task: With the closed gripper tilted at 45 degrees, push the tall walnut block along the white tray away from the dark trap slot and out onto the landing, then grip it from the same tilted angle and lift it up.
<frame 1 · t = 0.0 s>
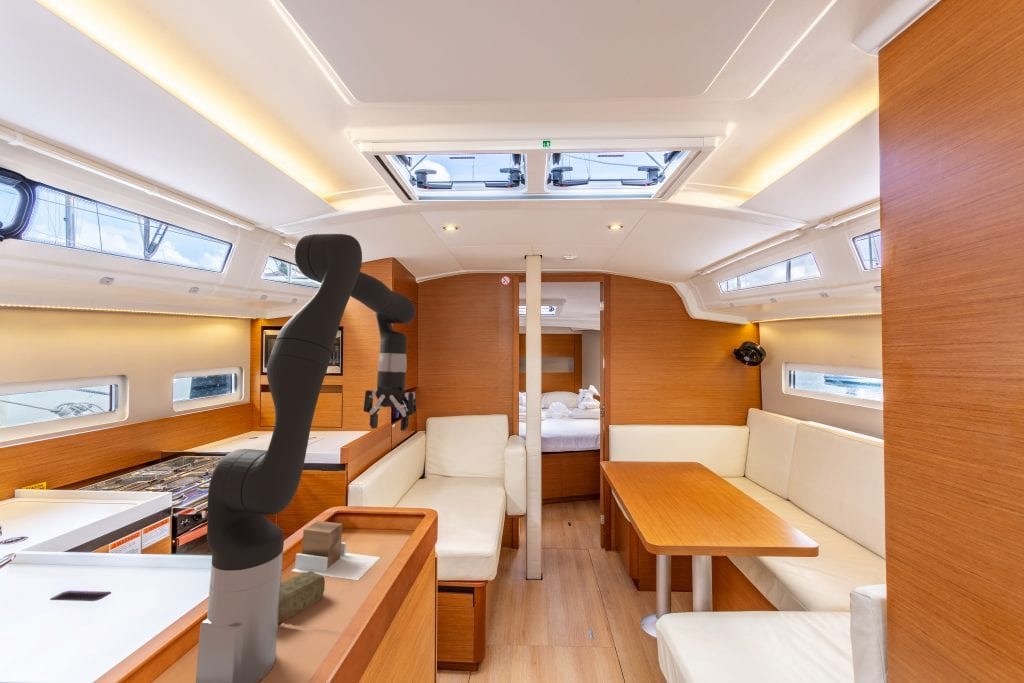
hand: (388, 429, 105), 29 cm above the counter, tool pointing down, fingers open, 8 cm apart
white tray: (335, 566, 89), on the counter
stone block: (289, 612, 73), on the counter
walnut block: (321, 561, 90), point 1 cm above the counter, touching white tray
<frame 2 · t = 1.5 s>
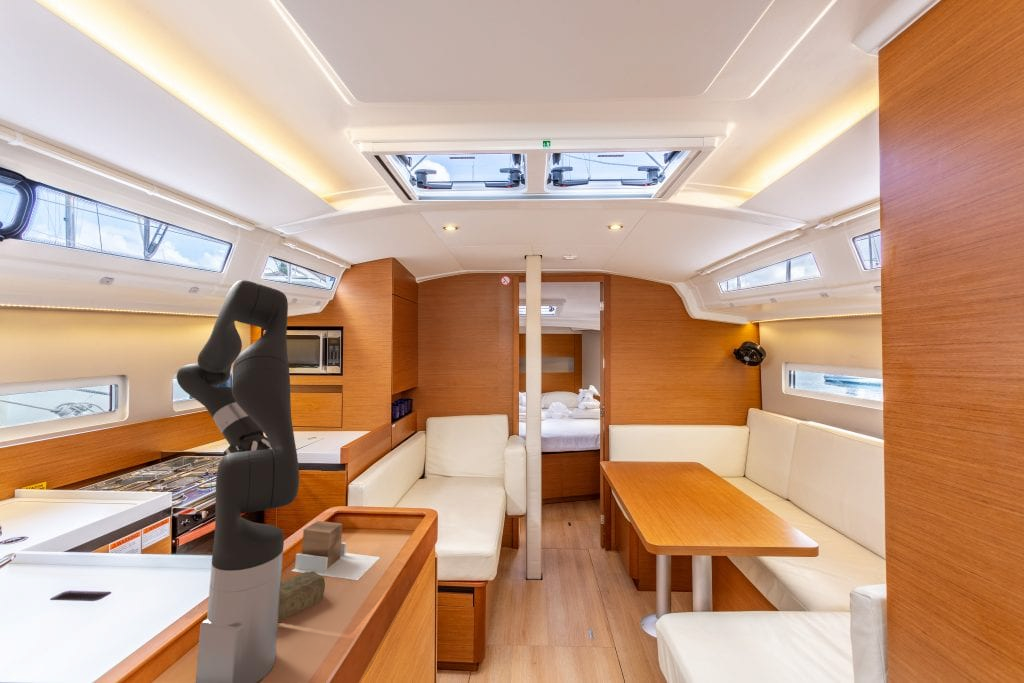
hand: (274, 475, 93), 19 cm above the counter, tool tilted 45°, fingers open, 8 cm apart
nothing on the counter moved.
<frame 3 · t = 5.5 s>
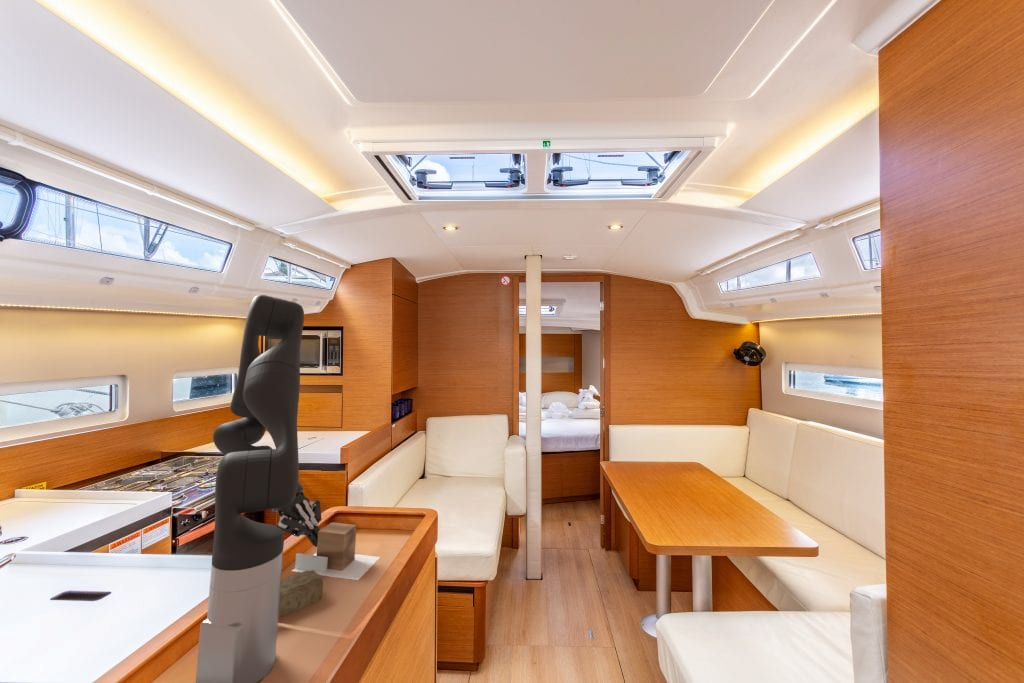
hand: (321, 543, 90), 5 cm above the counter, tool tilted 45°, fingers closed
walnut block: (335, 563, 89), point 1 cm above the counter
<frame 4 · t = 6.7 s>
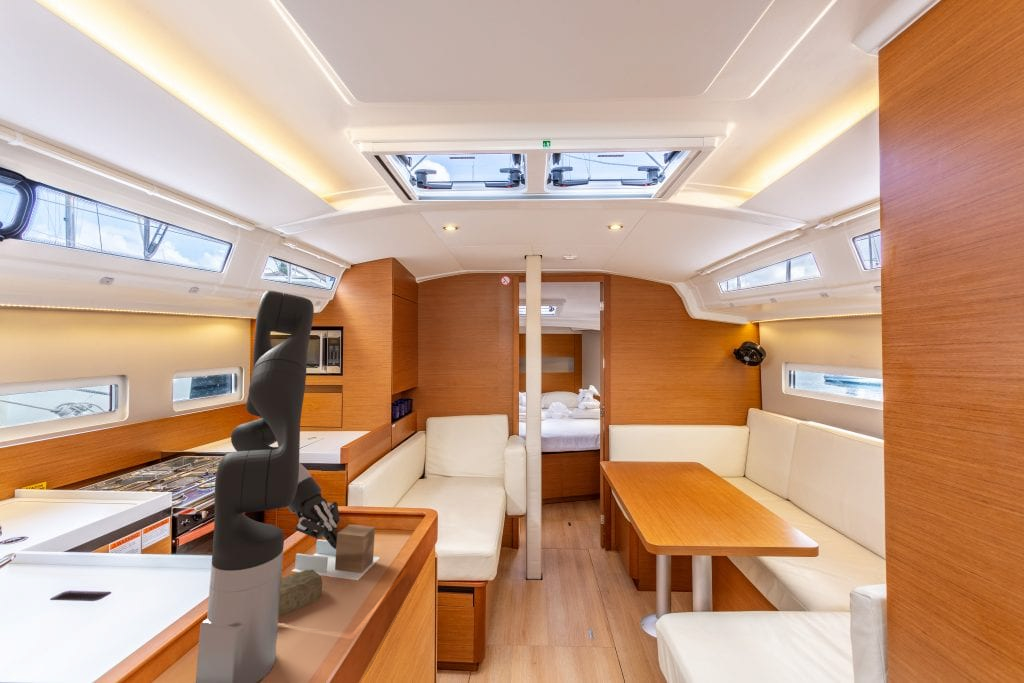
hand: (340, 545, 89), 5 cm above the counter, tool tilted 45°, fingers closed
walnut block: (354, 565, 88), point 1 cm above the counter, touching white tray
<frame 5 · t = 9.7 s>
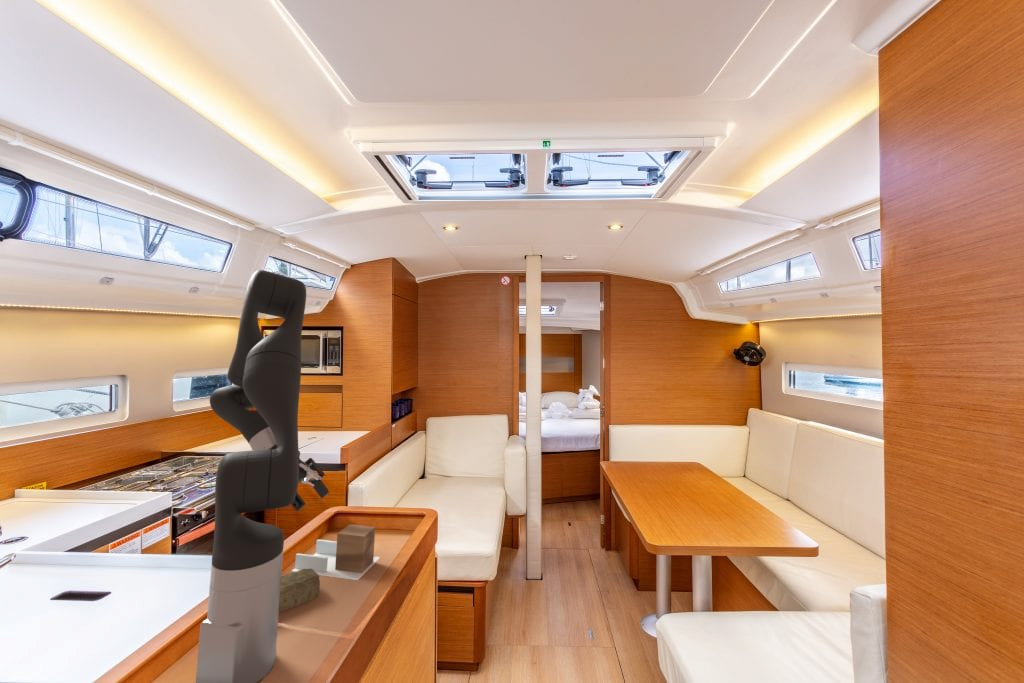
hand: (314, 501, 91), 14 cm above the counter, tool tilted 45°, fingers open, 8 cm apart
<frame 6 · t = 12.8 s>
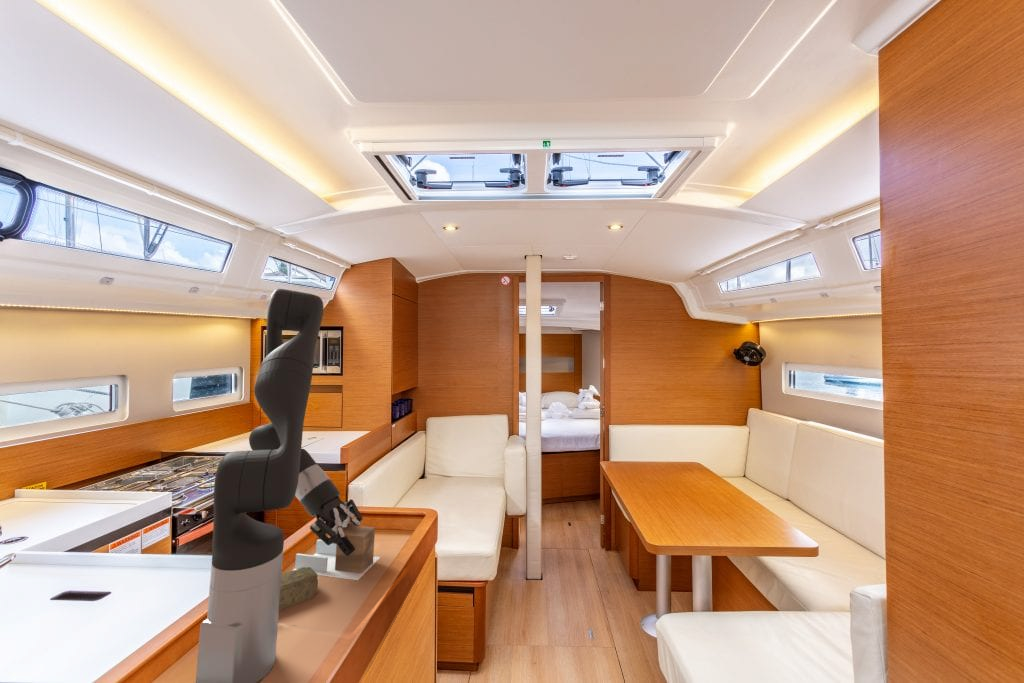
hand: (358, 546, 88), 5 cm above the counter, tool tilted 45°, fingers closed on walnut block, 5 cm apart
walnut block: (354, 566, 88), point 1 cm above the counter, touching white tray, gripper
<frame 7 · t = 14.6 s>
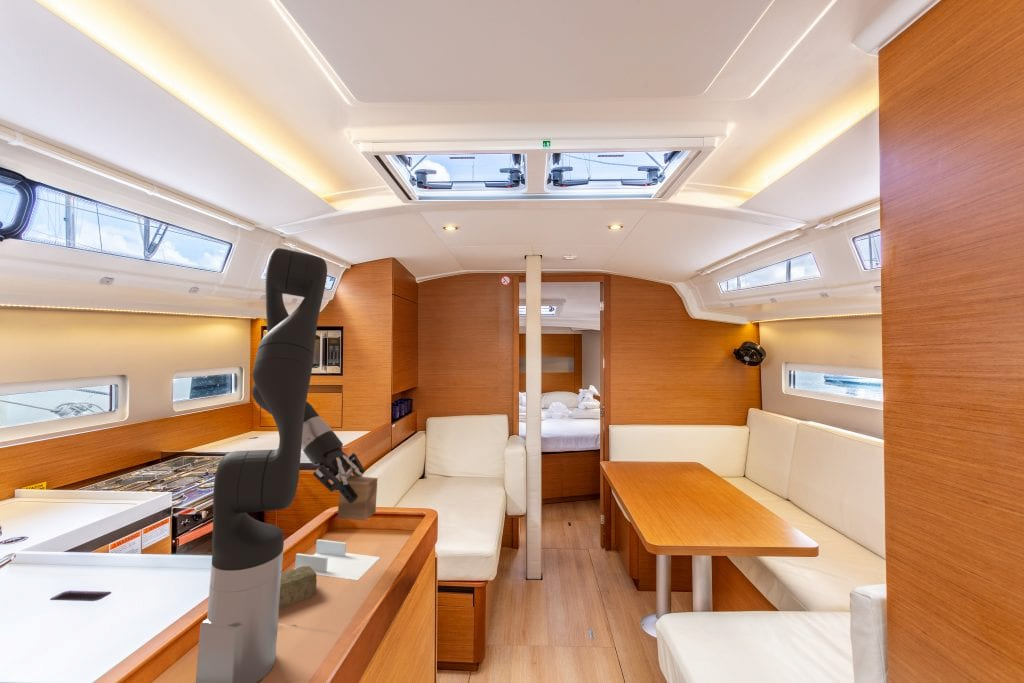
hand: (360, 496, 89), 16 cm above the counter, tool tilted 45°, fingers closed on walnut block, 5 cm apart
walnut block: (357, 515, 89), point 12 cm above the counter, touching gripper
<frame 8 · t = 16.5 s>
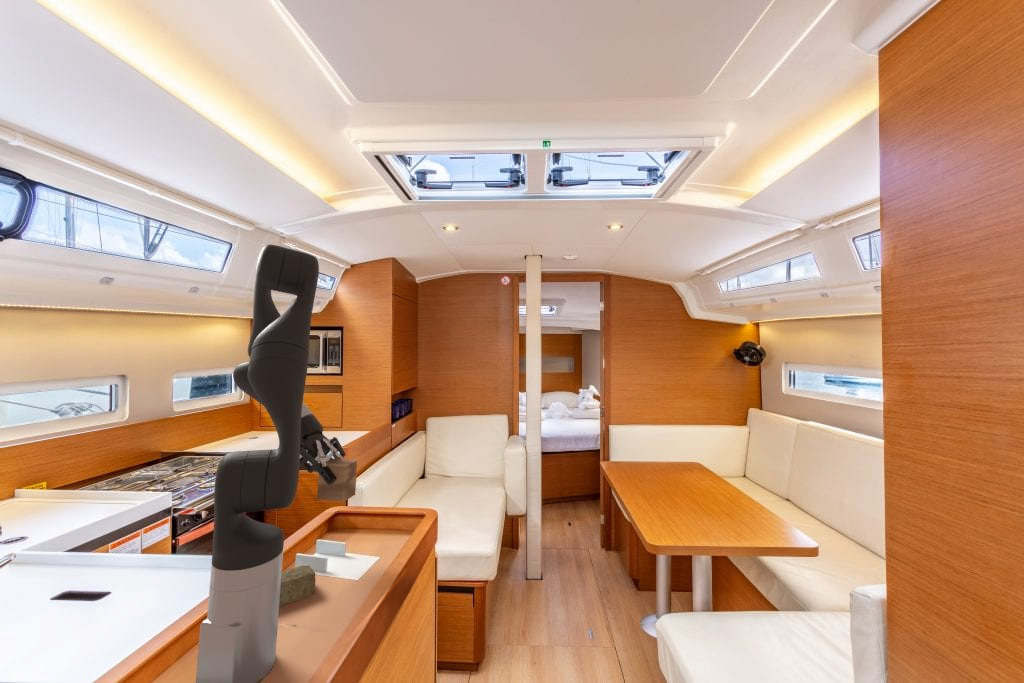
hand: (340, 478, 90), 20 cm above the counter, tool tilted 45°, fingers closed on walnut block, 5 cm apart
walnut block: (336, 496, 90), point 16 cm above the counter, touching gripper
at the end: walnut block point 15.7 cm above the counter; the gripper is holding walnut block; walnut block inside the target area (3.9 cm from its centre), point 15.7 cm above the counter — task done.
